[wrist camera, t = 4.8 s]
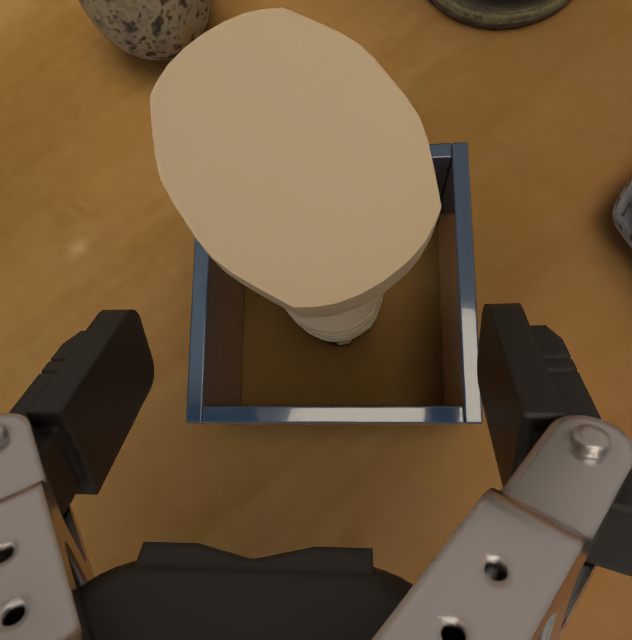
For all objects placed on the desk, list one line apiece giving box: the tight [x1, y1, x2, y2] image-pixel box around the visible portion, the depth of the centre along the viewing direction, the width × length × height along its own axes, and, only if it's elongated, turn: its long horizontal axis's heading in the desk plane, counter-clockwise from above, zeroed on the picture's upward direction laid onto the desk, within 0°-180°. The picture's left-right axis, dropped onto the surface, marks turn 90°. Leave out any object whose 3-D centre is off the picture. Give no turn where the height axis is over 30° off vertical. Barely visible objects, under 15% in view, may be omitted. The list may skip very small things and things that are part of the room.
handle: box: [150, 7, 441, 345], centre depth 18 cm, size 5×6×15 cm
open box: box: [186, 142, 483, 425], centre depth 23 cm, size 10×10×6 cm
